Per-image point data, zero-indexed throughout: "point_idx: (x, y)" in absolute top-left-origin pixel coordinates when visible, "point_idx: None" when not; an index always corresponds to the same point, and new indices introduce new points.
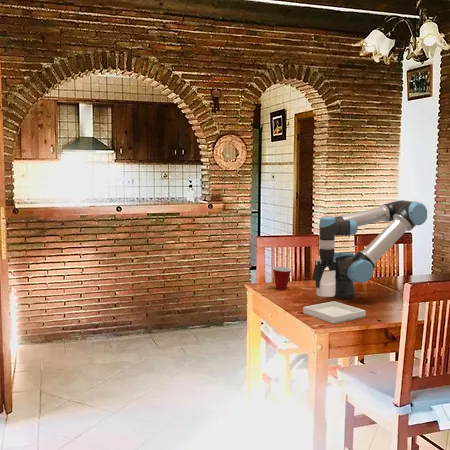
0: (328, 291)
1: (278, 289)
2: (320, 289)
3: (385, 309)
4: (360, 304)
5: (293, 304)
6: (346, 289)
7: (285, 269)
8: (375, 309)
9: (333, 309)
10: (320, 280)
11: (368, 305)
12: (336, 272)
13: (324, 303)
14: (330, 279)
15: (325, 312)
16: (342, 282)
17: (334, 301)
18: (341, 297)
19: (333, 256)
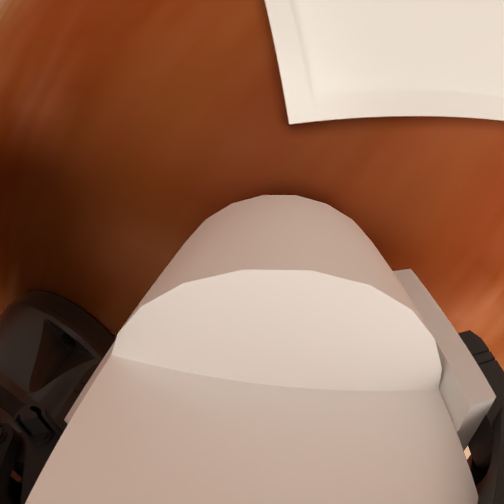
0: (338, 227)
1: None
2: (436, 306)
3: (8, 6)
4: (41, 134)
5: (485, 325)
6: (29, 339)
7: None
8: (42, 2)
9: (379, 20)
10: (454, 443)
11: (18, 99)
12: (9, 500)
13: (448, 98)
14: (200, 446)
15: (479, 9)
16: (25, 396)
17: (294, 107)
18: (87, 318)
19: None
